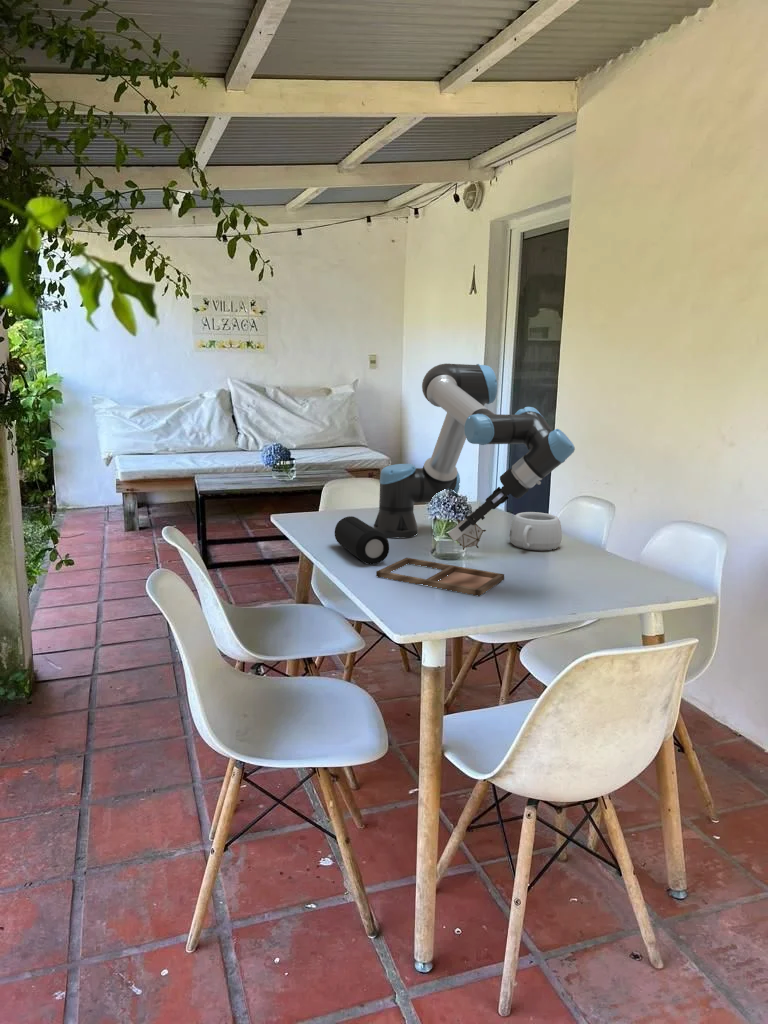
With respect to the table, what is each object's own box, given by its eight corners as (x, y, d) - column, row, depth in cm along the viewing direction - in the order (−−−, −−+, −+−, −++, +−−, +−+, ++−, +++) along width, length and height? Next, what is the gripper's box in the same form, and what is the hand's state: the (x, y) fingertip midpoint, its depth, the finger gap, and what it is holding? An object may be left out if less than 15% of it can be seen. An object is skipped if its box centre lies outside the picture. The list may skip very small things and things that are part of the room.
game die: (473, 562, 200) (490, 538, 193) (444, 551, 199) (459, 526, 192) (475, 540, 207) (491, 515, 200) (446, 528, 206) (462, 504, 199)
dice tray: (376, 576, 204) (376, 571, 204) (406, 562, 220) (406, 557, 219) (479, 596, 190) (479, 590, 190) (503, 579, 206) (504, 574, 205)
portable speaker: (391, 565, 216) (392, 531, 214) (359, 568, 213) (359, 533, 211) (361, 544, 240) (362, 514, 238) (331, 546, 236) (332, 515, 234)
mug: (517, 537, 257) (519, 508, 255) (566, 544, 249) (569, 514, 247) (497, 550, 238) (499, 519, 236) (549, 558, 230) (551, 526, 228)
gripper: (523, 496, 182) (455, 553, 190) (535, 483, 201) (472, 536, 209) (503, 472, 182) (436, 530, 191) (516, 462, 202) (455, 515, 210)
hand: (455, 533), depth 200 cm, fingers closed on game die, 8 cm apart
